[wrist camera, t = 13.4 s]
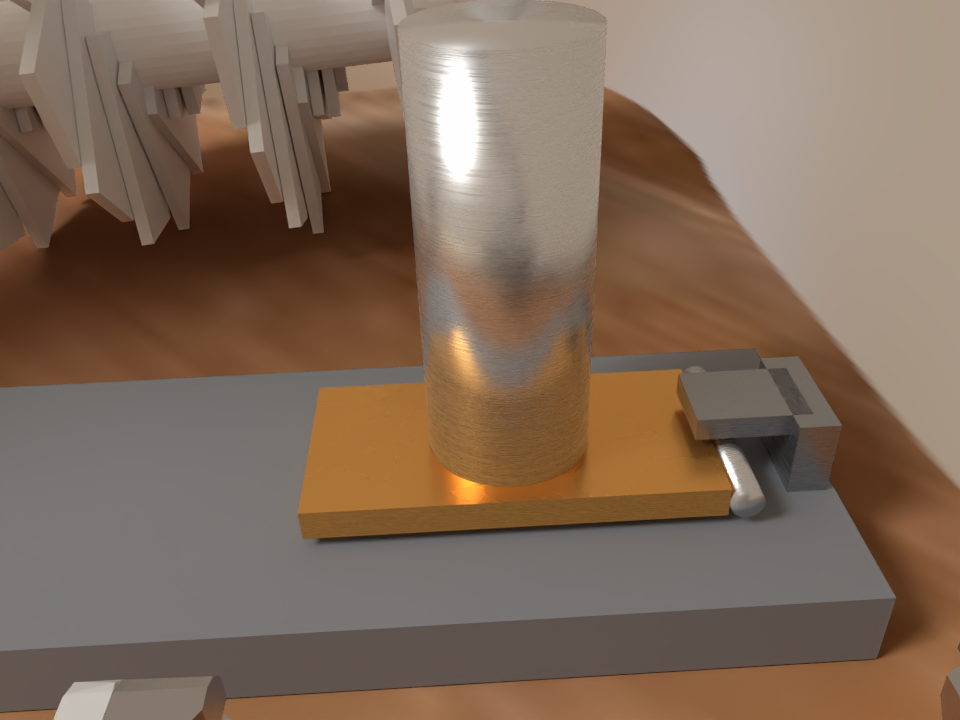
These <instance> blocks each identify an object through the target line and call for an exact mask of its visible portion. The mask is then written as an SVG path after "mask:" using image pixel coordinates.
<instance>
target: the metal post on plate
mask: <svg viewBox="0 0 960 720" xmlns="http://www.w3.org/2000/svg"><path fill="white" fill-rule="evenodd" d="M606 34H607V20H606V18H605V17H604V16H603V15H602V14H600V13H599V12H597V11H595V10H592V9H589V8H586V7H582V6H578V5H573V4H568V3H561V2H553V1H541V0H484V1H472V2H463V3H456V4H449V5H443V6H438V7H434V8H430V9H426V10H423V11H419V12H417V13H414V14H411V15H409V16H407V17H406V18H404V19H403V20H401V21H400V23H399V24H398V40H399V53H400V66H401V79H402V92H403V105H404V118H405V131H406V144H407V157H408V171H409V184H410V197H411V210H412V223H413V236H414V249H415V262H416V275H417V289H418V302H419V315H420V328H421V341H422V354H423V367H424V380H425V382H424V383H405V384H386V385H366V386H347V387H328V388H319V393H318V399H317V405H316V410H315V416H314V422H313V428H312V433H311V439H310V445H309V451H308V457H307V462H306V468H305V474H304V480H303V486H302V491H301V497H300V503H299V509H298V518H299V523H300V529H301V534H302V539H315V538H332V537H350V536H368V535H386V534H403V533H421V532H439V531H456V530H474V529H492V528H510V527H527V526H545V525H563V524H580V523H598V522H616V521H633V520H651V519H669V518H687V517H704V516H722V515H728V513H729V507H731V509H732V511H733V513H734V514H736V515H737V516H740V517H751V516H754V515H756V514H758V513H759V512H761V511H762V509H763V508H764V507H765V504H766V499H765V497H764V495H763V493H762V490H761V488H760V486H759V484H758V482H757V480H756V478H755V475H754V473H753V471H752V469H751V467H750V465H749V462H748V460H747V458H746V456H745V454H744V452H743V450H742V447H741V445H740V443H739V441H738V439H737V438H724V439H706V440H695V438H694V435H693V433H692V430H691V428H690V425H689V423H688V420H687V418H686V415H685V413H684V410H683V408H682V405H681V403H680V400H679V398H678V396H677V393H676V391H677V382H678V373H697V372H706V370H705V369H703V368H702V367H698V366H693V367H689V368H687V369H685V370H684V371H683V372H682V370H681V369H673V370H654V371H634V372H615V373H596V374H591V357H592V336H593V314H594V293H595V271H596V250H597V228H598V206H599V185H600V163H601V142H602V120H603V99H604V77H605V55H606Z"/></svg>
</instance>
